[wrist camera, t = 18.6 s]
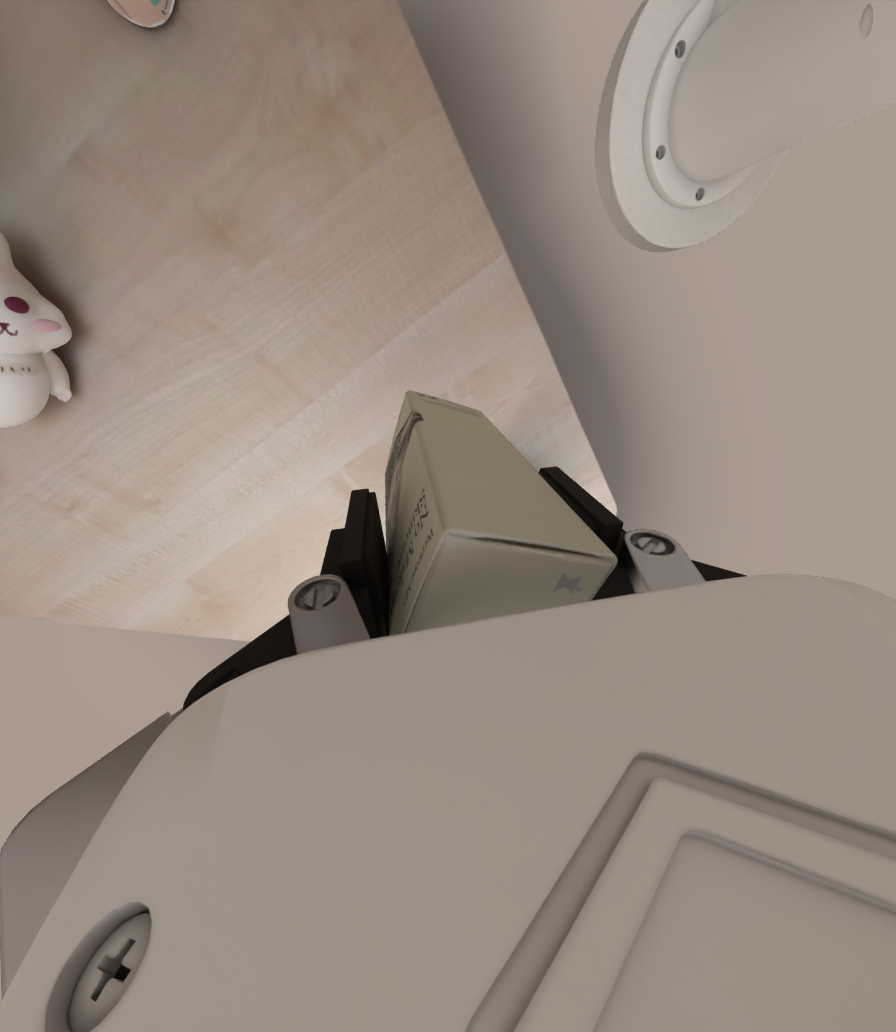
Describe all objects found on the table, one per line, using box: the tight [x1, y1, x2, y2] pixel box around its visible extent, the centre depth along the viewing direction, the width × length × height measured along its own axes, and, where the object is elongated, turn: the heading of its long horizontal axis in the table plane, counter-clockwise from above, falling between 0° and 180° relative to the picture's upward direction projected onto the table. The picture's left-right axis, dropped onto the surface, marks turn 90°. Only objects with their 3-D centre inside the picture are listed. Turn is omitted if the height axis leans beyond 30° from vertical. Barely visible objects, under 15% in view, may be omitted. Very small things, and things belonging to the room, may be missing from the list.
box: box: [385, 391, 617, 636], centre depth 13 cm, size 5×4×13 cm
